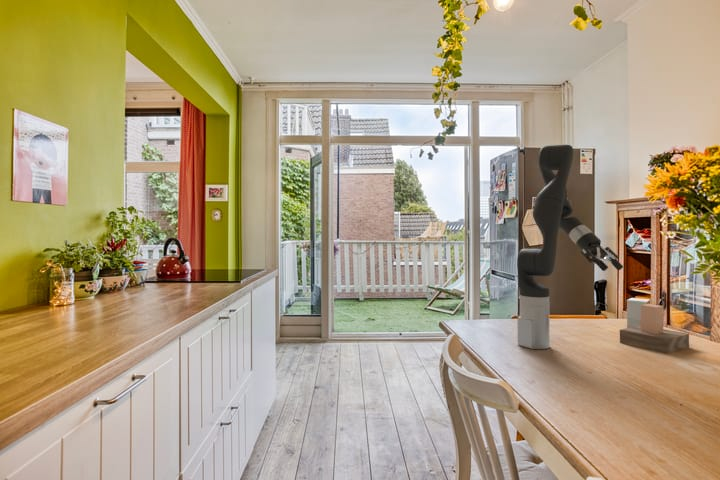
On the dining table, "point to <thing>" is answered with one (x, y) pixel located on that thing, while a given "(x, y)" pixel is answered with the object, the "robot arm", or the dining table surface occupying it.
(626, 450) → the dining table surface
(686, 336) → the walnut block
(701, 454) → the dining table surface
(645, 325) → the terracotta block
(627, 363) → the dining table surface
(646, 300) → the small box
